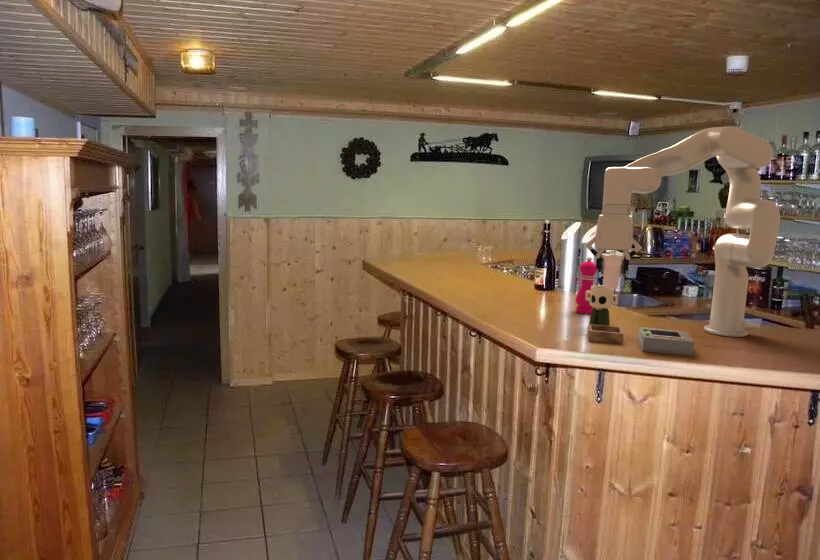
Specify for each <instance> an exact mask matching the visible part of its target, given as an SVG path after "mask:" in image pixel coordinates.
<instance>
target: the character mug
mask: <svg viewBox="0 0 820 560" xmlns="http://www.w3.org/2000/svg"><path fill="white" fill-rule="evenodd" d="M614 292H615V289H611V288H605V287H604V285H593V286H591V291H586V295H585V299H586V300H587V301H590V305H591V306H593V310H592V312H591V314H590V318H589V322H588V325H589V324H595V325H606V326H611V325H610V321H611V319H610V311H609V309H610V308H612V307H613V305H614V306H617V305H618V304H619V294H616V293H614ZM588 294H590V298H588ZM614 298H615V299H614Z"/></svg>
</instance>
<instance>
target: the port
mask: <svg viewBox="0 0 820 560" xmlns="http://www.w3.org/2000/svg"><path fill="white" fill-rule="evenodd" d="M637 335H638V336H637V341H638V345H639V346H640V349H641V351H642V352H645V353H646V352H648V353H655V354H657V353H658V354H667V355H676V356H677V355H678V356H687V357H688V356H689V357H693V356H694V350H695V341H694V339H693V338H692V337H691V335H690V334H689V332H688V331H687V330H686V331H685V330H677V329H663V328H655V327H654V328H653V327H652V328H651V327H643V326H642V327H641V326H640V327H638V334H637Z"/></svg>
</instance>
